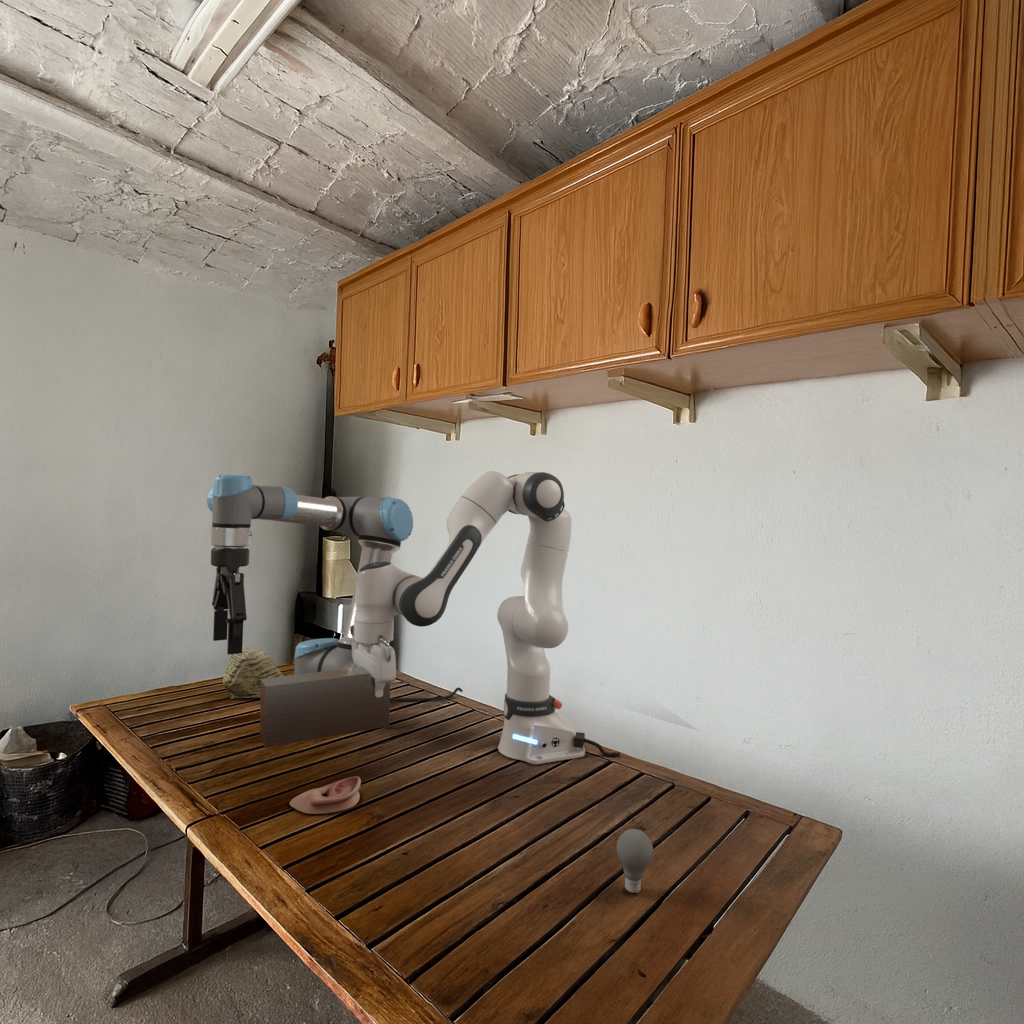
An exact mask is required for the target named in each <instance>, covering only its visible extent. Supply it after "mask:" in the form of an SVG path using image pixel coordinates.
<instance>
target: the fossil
mask: <svg viewBox="0 0 1024 1024" xmlns="http://www.w3.org/2000/svg"><path fill="white" fill-rule="evenodd" d="M230 655H231V656H230V657H229V659H228V660H227V663H226V666H225V668H224V671H223V675H222V676H223V677H222V685H223V687H224V688H225V690H226V691H228V693H229V698H230V699H250V698H260V694H261V679H265V678H274V677H282V676H284V674H283V673H282V672H281V669H279V668H278V667H277V665H276V663H275V662H274V660H273V659H272V658H271V657H270V656H269V655H268V654H267V653H266V652H265V650H264V649H263V648H260V647H258V648H251V647H247V646H246V647H245V646H242V653H239V654H230Z"/></svg>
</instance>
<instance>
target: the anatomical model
mask: <svg viewBox="0 0 1024 1024" xmlns="http://www.w3.org/2000/svg"><path fill="white" fill-rule="evenodd" d="M361 785H362V780H361V777H360V776H357V775H356V776H350V777H346V778H343V779H340V780H336V781H334V782H332V783H329V784H326V785H324V786H320V787H317V788H312V789H309V790H306V791H304V792H302V793H300V794H298V795H296V796H295V797H293V798H292V799H291V800H290V801H289V806H290V807H291V808H293V809H295V810H296V811H298V812H300V813H303V814H307V815H320V814H330V813H336V812H337V813H338V812H341V811H345V810H348V809H350V808H353V807H354V806H356V805H357V804H358V802H360V798H361V794H360V792H359V790H360V788H361Z"/></svg>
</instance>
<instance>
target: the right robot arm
mask: <svg viewBox="0 0 1024 1024" xmlns="http://www.w3.org/2000/svg"><path fill="white" fill-rule="evenodd" d="M565 506H566V505H565V491H564V487H563V484H562V482H561V481H560V479H559V478H557V476H555V475H553V474H552V473H549V472H545V471H539V472H538V471H527V472H523V473H517V474H513V475H510V476H505V474H503V473H501V472H498V471H494V470H491V471H490V470H489V471H487V472H484V473H483V474H482V475H481V476H480V477H478V478H477V479H476V480H475V481H474V482H472V483H471V485H469V487H468V488H467V489H466V490H465V491H464V492H463V493H462V495H461V496H460V497H459V498H458V500H457V501H456V502H455V504H453V506H452V508H451V510H450V512H449V514H448V516H447V518H446V529H447V532H448V543H447V546H446V547H445V548H444V551H443V552H442V553H441V555H440V556H439V558H438V559H437V561H436V562H435V564H434V565H433V566H432V568H431V569H430V571H429V572H428V573H427V574H426V575H425V576H424V577H421V576H418V575H416V574H412V573H409V572H406V571H404V570H403V569H401V568H398V567H397V566H395V565H394V564H393V563H390V562H375V563H370V564H367V565H365V566H363V567H362V568H361V569H360V570H359V572H358V571H357V573H358V576H357V575H356V578H357V582H356V581H355V583H356V593H355V603H356V607H357V613H356V616H355V624H353V625H351V626H350V634H351V635H352V657H353V661H354V663H355V664H356V665H358V666H359V667H362V668H364V669H365V670H366V671H368V672H369V673H370V675H371V676H372V677H373V678H374V679H375V683H376V684H375V688H374V693H373V694H374V696H375V697H382V696H383V689H384V686H385V683H388V682H390V683H393V682H395V681H396V678H397V677H396V676H397V664H396V663H397V662H396V652H395V651H396V650H395V648H394V647H393V646H391V645H390V642H393V641H394V631H395V630H394V629H395V625H394V624H395V622H394V621H395V616H397V615H401V616H403V618H404V619H405V620H406V621H407V622H408V623H409V624H411V625H413V626H414V627H428V626H431V625H434V624H435V623H437V622H438V621H439V620H440V619H441V618H442V617H443V615H444V614H445V612H446V609H447V605H448V602H449V597H450V595H451V593H452V590H453V589H454V587H455V585H456V584H457V583H458V581H459V580H460V578H461V576H462V575H463V573H464V572H465V570H466V569H467V567H468V566H469V565H470V563H471V561H472V560H473V558H474V557H475V555H476V553H477V552H478V550H479V548H480V547H481V545H482V543H484V541H485V539H487V537H488V536H489V535H490V533H491V531H492V530H494V528H495V527H496V525H497V524H498V522H499V521H500V520H501V518H502V517H503V516H504V515H505V514H506V513H507V512H508V513H510V514H514V515H521V516H527V517H528V521H529V532H528V537H527V539H526V540H527V541H526V545H525V549H524V554H523V559H522V561H521V562H522V563H521V568H520V576H521V579H522V584H523V595H516V596H510V597H506V598H505V599H504V600H503V601H502V602H500V604H499V606H498V609H497V614H496V617H497V622H498V624H499V626H500V628H501V632H502V637H503V643H504V649H505V657H506V666H507V667H506V668H507V670H506V671H507V675H506V692H505V694H504V701H503V717H504V720H503V726H502V732H501V736H500V739H499V743H498V746H497V750H498V752H499V753H500V754H501V755H503V756H505V757H507V758H510V759H513V760H518V761H524V762H526V763H528V764H531V765H543V764H548V763H553V762H560V761H565V760H567V761H568V760H572V759H577V758H583V757H585V755H586V748H585V743H586V744H589V745H592V746H594V747H595V748H597V749H598V750H599V752H600V754H601V755H603V756H605V757H620V756H621V752H620V751H613V752H612V751H611V752H610V751H606V750H605V749H604V748H603V747H602V745H601V744H600V743H598V742H596V741H594V740H591V739H587V738H586V733H585V732H579V731H576V729H575V727H574V725H573V724H572V722H571V721H569V720H568V719H567V718H566V717H565V716H564V715H562V713H560V712H559V711H558V710H561V709H562V708H563V703H562V702H561V701H560V700H559V699H557V698H556V697H554V696H552V695H551V694H550V689H551V688H550V687H551V665H550V662H549V660H548V658H547V655H546V651H545V649H554V648H557V647H559V646H560V645H561V644H563V643H564V641H565V640H566V639H567V636H568V634H569V621H568V619H567V616H566V614H565V611H564V604H563V603H564V602H563V581H564V574H565V570H566V564H567V560H568V555H569V551H570V546H571V538H572V527H573V526H572V525H573V522H572V520H573V519H572V516H571V514H570V512H569V511H567V510H566V509H565ZM616 752H617V753H616Z"/></svg>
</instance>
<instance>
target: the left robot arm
mask: <svg viewBox="0 0 1024 1024" xmlns="http://www.w3.org/2000/svg"><path fill="white" fill-rule="evenodd" d="M206 504H207V508H208V509H209V510H210V511H211V513H212V515H211V531H210V532H211V534H210V539H211V540H210V545H211V546H213V547H212V548H211V549H210V565H211V566H212V567H216V569H215V571H216V573H215V583H214V587H213V595H212V601H211V605H212V607H213V610H214V611H213V630H212V631H213V635H212V641H214V642H217V641H218V642H219V641H226V640H227V648H226V649H227V651H226V653H227V654H226V655H229V656H230V655H232V654H239V653H242V647H243V642H244V641H243V640H244V639H243V638H244V622H245V621H247V619H248V616H247V607H246V593H245V574H244V573H243V572H240V568H241V567H242V568H244V567H248V566H249V565H250V551H251V550H250V549H249V548H248V547H249V546H250V543H251V541H250V539H251V537H252V536H253V533H254V532H253V531H251V526H252V525H251V523H252V520H263V521H265V520H266V521H273V522H281V523H290V524H301V525H309V526H319V527H320V528H321V529H322V530H325V531H332V532H336V533H340V534H344V535H348V536H352V537H358V539H357V543H358V544H359V545H360V547H361V553H360V558H359V563H358V569H357V572H356V573H357V574H356V579H355V583H354V588H353V593H352V599H351V603H350V609H349V614H348V617H347V618H348V619H347V622H346V623H347V624H346V628H345V633H344V635H343V636H342V637H341V638H339V639H338V638H335V637H326V638H325V637H324V638H323V637H322V638H313V639H308V640H304V641H302V642H299V643H298V644H297V645H296V647H295V652H294V653H295V654H294V657H293V659H294V660H293V662H294V663H293V665H294V666H293V675H299V674H307V673H315V672H323V671H332V670H340V669H348V668H357V667H359V666H358V665H356V664H355V663H354V661H353V657H352V635H351V634H350V626H351V625H353V624H355V616H356V613H357V607H356V603H355V593H356V582H357V576H358V572H359V570H360V569H361V568H362V567H363V566H365V565H367V564H370V563H375V562H390V563H391V564H393V558H394V554H395V553H396V552H398V551H399V550H400V549H401V546H402V545H401V544H402V542H404V541H406V540H408V539H409V537H410V536H411V534H412V533H413V529H414V516H413V513H412V510H411V508H410V506H409V504H408V503H407V502H406V501H404V500H402V499H400V498H397V497H390V496H386V497H385V496H384V497H383V496H363V495H361V496H332V495H331V496H326V497H324V498H322V497H317V496H309V495H303V494H297V493H296V492H295V490H293V488H291V487H287V486H282V485H255V484H253V479H252V476H250V475H240V474H218V475H216V476H215V477H214V480H213V487H211V488H210V489H209V490H208V494H207V495H206ZM458 691H459V692H460V693H463V692H464V690H463V689H462V688H460V687H456V688H454V690H453V691H452V692H451V693H450V694H449V695H444V696H436V697H397V698H396V697H395V698H390V703H392V702H428V701H429V702H430V701H442V700H443V701H444V700H447V699H451V698H452V697H453V696H455V695H456V693H457V692H458Z"/></svg>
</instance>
